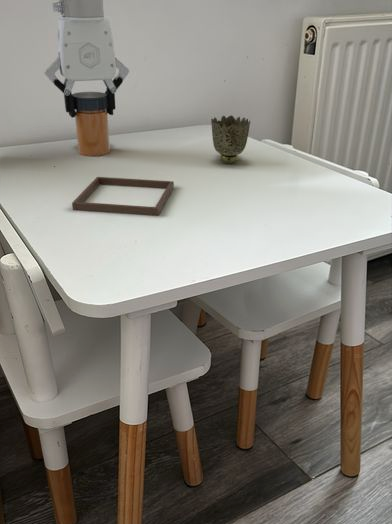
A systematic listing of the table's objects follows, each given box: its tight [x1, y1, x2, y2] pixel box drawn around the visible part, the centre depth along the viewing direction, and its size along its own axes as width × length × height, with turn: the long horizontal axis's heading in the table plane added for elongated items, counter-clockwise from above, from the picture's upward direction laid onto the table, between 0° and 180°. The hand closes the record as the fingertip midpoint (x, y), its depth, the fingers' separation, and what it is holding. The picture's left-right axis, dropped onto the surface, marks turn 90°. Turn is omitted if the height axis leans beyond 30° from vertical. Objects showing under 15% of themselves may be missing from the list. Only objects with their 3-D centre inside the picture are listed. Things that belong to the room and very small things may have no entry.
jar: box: [74, 109, 111, 157], centre depth 112 cm, size 6×6×10 cm
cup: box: [210, 114, 251, 165], centre depth 108 cm, size 8×7×8 cm
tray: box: [71, 176, 175, 217], centre depth 89 cm, size 13×13×2 cm
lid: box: [72, 91, 108, 111], centre depth 109 cm, size 7×7×2 cm
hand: (91, 114), depth 111 cm, fingers closed on lid, 7 cm apart
